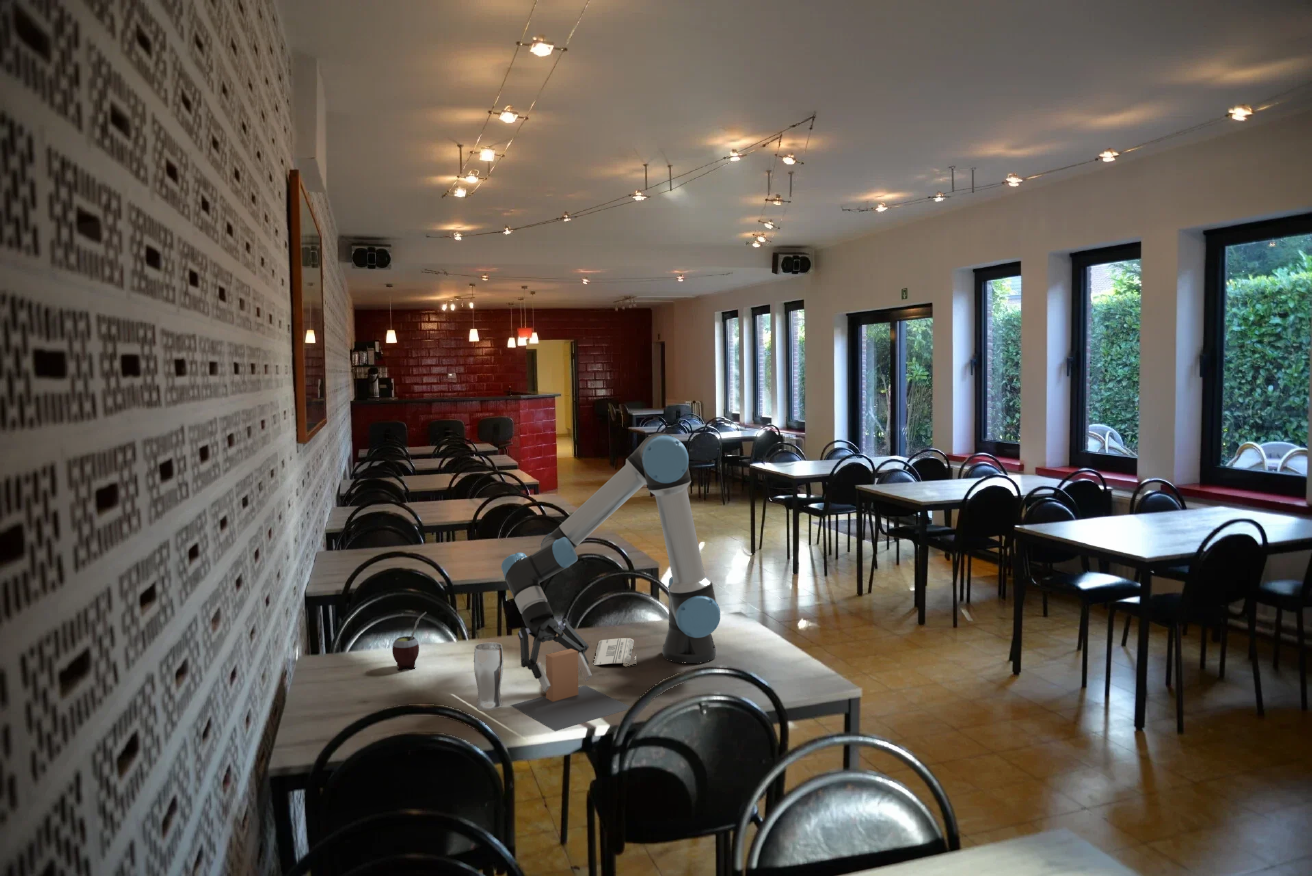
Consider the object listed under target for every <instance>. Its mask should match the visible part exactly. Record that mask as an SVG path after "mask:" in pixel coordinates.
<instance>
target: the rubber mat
mask: <svg viewBox="0 0 1312 876" xmlns="http://www.w3.org/2000/svg"><path fill="white" fill-rule="evenodd" d="M509 706H511V707H512V708H514V709H515V710H518V711H519V712H521V713H523V714H525V715H526V716H528V717H529V718H531V719H533V720H535V721H537V722H539V723H540V724H542V725H544V726H546V728H548V729H551V730H552V731H554V732H557V731H560V730H561V731H562V730H564V729H567V728H571V727H574V726H578V725H580V724H581V725H582V724H585V723H588V722H590V721H595V720H598V719H601V718H604V717H608V716H610V715H611V716H612V715H614V714H617V713H621V712H625V711H627V709H628V708H629V707H631V706H630V705H628V704H626V703H624V702H623V701H619V700H617V699H616V698H613V697H612V696H610V695H607V694H605V693H603V692H600V691H599V690H597V689H594V688H592V687H590V686H588V685H586V684H585V685H584V684H583V685H581V686H578V695H575V696H572V697H568V698H564V699H561V700H557V701H553V702H552V701H551V700H549V699H547V698H546V695H543V696H540V697H536V698H531V699H529V700H524V701H522V702H521V701H520V702H517V703H514V704H510V705H509ZM628 710H629V709H628Z"/></svg>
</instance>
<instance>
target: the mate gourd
mask: <svg viewBox="0 0 1312 876" xmlns="http://www.w3.org/2000/svg"><path fill="white" fill-rule="evenodd" d="M426 614H427V611H425V612H424V613H422V614H421V615H420V616H419V617H418V618H417V620H415V622H414V623H415V624H414V627H413V630H412V633H411V635H407V636H400V637H397V638H395V640H394V641H393V644H392V649H391V650H392V657H393V659H394V661H395V662H396V667H397V672H401V671H403V670H405V668H406V669H407V668H410V669H409V670H412V669H415V668H416V667H415V665H416V660H417V659H418V657H419V652H420V645H419V640H417V638H416V637H415V636H414V635H415V633H416V630H417V627H418V625H419V623H420V622H419V621H420V620H421V619H422V618H423V617H424V616H425V615H426ZM415 670H416V669H415Z"/></svg>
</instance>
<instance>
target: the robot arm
mask: <svg viewBox="0 0 1312 876" xmlns="http://www.w3.org/2000/svg"><path fill="white" fill-rule="evenodd" d="M690 474H691V473H690V470H689V453H688V451H687V448H686V447H685V445H684V443H682V441H681V440H679V439H678V438H676V437H674V436H673V435H672V434H669V433H666V432H656V433H652V434H650V435H648V437H646V438H645V439H644V440H643V441H642V442H641V443H640V444H639V446H638V447H637V448H636V449H635V450H634V451H633V452H632V453H631V454H630V455H629V456H628V457H627V458H626V459H625V464H624V466H622V468H621V469H619V470H618V471H617V472H616V473H615V474H614V475H613V476H611V478H609V479H608V480H607V482H605V483H604V484H603V485H602V486H601V487H600V488H598V490H597V491H595V492H594V493H593V494H592V495H591V496H590V497H589V498H588V499H587V500H586V501H584V503H582V504H581V505H580V506H579V507H578V508H577V509H576V510H575V511H573V513H572V514H571V515H570V516H568V517H567V518H566V519H565V520H564V521H563V522H562V523H561V524H560V525H559V526H557V528H555V529H554V530H553V531H552V532H551V533H550V532H549V533H548V534H546V536H545V537H544V538H543V539H542V540H541V544H540V549H539V550H537V551H536V552H534V553H532V554H530V555H528V556H527V555H526V553H525V552H515V554H509V555H508V556H507V557H505V558H504V559H503V561H502V562H501V566H500V568H501V572H502V574H503V576H504V580H505V582H506V585H507V586H508V589H509V591H510V592H511V596H512V597H513V600H514V602H515V604H516V607H517V608H518V611H519V613H520V614H521V618H522V620H523V622H524V625H525V626H526V628H525V627H524V626H522V627H521V628H520V629H519V631H518V632H517V636H518V639H519V643H520V666H521V667H522V668H526V667H527V669H528V670H529V671H531V672H532V675H533V677H534V679H536V680H537V679H538V682H539V684H540V687H541V688H542V691H543V692H544V693H546V691H547V690H548V688H549V687H550V686H551V685H550V683H549V681H548V678H547V676H546V671H545V670H544V667H543V665H542V663H541V661H539V662H537V661H538V658H539V653H540V649H541V643H545V642H549V641H554V642H555V643H558V644H560V645H561V646H562V647H564V648H565V649H566V650H567V649H574V650H576V651H578V670H579V671H580V672H581V675H582V678H583V679H584V681H585V682H586V681H589V679H590V678H591V677H592V676H593V674H592V672H591V669H590V667H589V666H588V665H589V660H588V658H587V656H586V652H587V650H588V649H589V648H590V646H589V644H588V643H587V642H586V641H585V640H584V639H583V638H582V637H581V636H580V635H579V633H578V632H577V631H576V630H575V629H574V628H573V626H571V624H570V622H569V620H568V619H567V618H563V619H562V620H561V621H560V620H559V621H557V620H556V618H555V616H554V613H553V610H552V608H551V605H550V604H549V602H548V599H547V596H546V595H545V593H544V591H543V588H542V586H541V584H540V583H542V582H544V581H546V580H547V579H549V578H550V577H552V576H554V575H556V574H558V573H560V572H561V571H563V570H565V569H568V568H570V566H572V565H573V564H575V563H576V562H577V561H578V559H579V557H578V555H577V554H578V553H577V552H576V550H575V549H576V548H577V547H578V546H579V545H580V544H581V543H582V542H583V541H584V540H586V539H587V538H588V537H589V536H590V535H592V533H594V531H596V529H598V528H599V527H600V526H601V525H602V524H604V522H605V521H606V520H607V519H608V518H609V517H611V516H612V515H613V514H614V513H615V512H616V511H617V510H618V509H619V508H621V506H622V505H624V504H625V503H626V502H627V501H628V500H629V499H630V498H631V497H633V495H634V494H636V493H637V492H638V491H639V490H641V488H642V487H643V486H647V490H648V492H650V493H651V494H653V495H654V497H655V501H656V506H657V510H658V516H659V520H660V525H661V530H662V533H663V540H664V543H665V549H666V553H667V559H668V563H669V567H670V568H669V569H670V572H671V576H670V577H669V579H668V585H667V588H668V628H667V629H668V631H667V633H666V636H665V640H664V644H663V646H662V650H661V651H662V653H661V655H662V654H663V656H664V657H663V656H662V657H663V659H665V658H666V659H668V660H667V661H669V660H672V661H674V662H673V663H676V662H680V663H679V664H683V663H684V662H686V663H697V664H701V663H700V662H704V663H707V662H706V661H708V660H711V661H712V659H713V658H714V659H716V657H715V656H717V655H716V654H717V653H716V651H717V648H716V646H715V642H714V638H713V635H712V633H714V631H716V629H717V627H718V626H719V624H720V621H721V608H720V606H719V604H718V603H717V599H716V595H715V589H714V586H713V581H712V579H711V578H710V577H709V576H707V575H705V570H704V564H703V560H702V554H701V551H700V546H699V542H698V541H699V540H698V537H697V531H696V526H695V521H694V516H693V512H692V507H691V502H690V498H689V493H688V488H689V486H690V485H691V482H692V478H691V475H690ZM529 636H531V637H532V638H533V642H532V649H531V653H530V647H529V646H530V643H529ZM666 659H665V660H666ZM714 659H713V660H714ZM682 662H683V663H682ZM708 662H709V661H708Z"/></svg>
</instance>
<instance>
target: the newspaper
mask: <svg viewBox="0 0 1312 876" xmlns="http://www.w3.org/2000/svg"><path fill="white" fill-rule="evenodd" d="M634 643H635V641H634V639H632V638H631V637H629V638H628V637H625V638H624V637H622V638H621V637H620V638H610V639H601V640H599V641H598V644H597V646H596V650H595V653H596V656H595V655H594V657H595V659H594V658H593V660H595V661H594V663H593V662H592V665H593V664H594V665H593V666H600V665H610V664H622V663H626V664H628V665H629V664H630V661H631V655H632V649H633V646H634ZM634 658H635V659H634V660H636V661H635V662H636V663H635V664H636V665H637V655H636V656H635V657H634ZM633 662H634V661H633ZM633 664H634V663H633ZM629 667H631V666H630V665H629Z"/></svg>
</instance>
